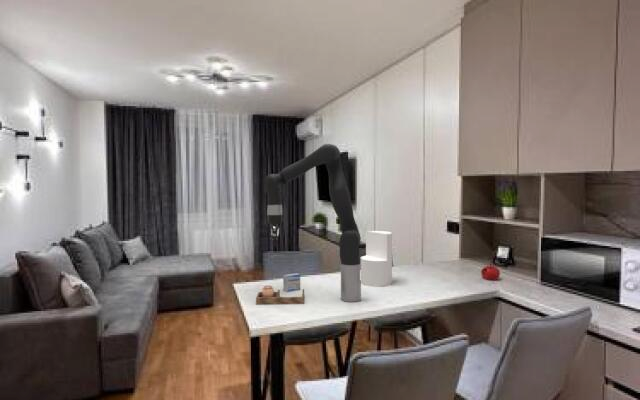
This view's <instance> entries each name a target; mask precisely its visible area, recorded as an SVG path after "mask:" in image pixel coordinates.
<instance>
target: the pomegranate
mask: <svg viewBox="0 0 640 400" xmlns="http://www.w3.org/2000/svg"><path fill="white" fill-rule="evenodd" d="M480 274H481V277H482V278H483V279H485V280H486V281H487V280H488V281H497V280H498V279H499V278H500V275H501V271H500V269H499V267H497V266H496V265H495V264H494V265H492V262H490V263H489V265H488V264H486V265H484V266H483V268H482V269H481V271H480Z"/></svg>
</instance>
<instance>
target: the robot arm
mask: <svg viewBox="0 0 640 400" xmlns="http://www.w3.org/2000/svg"><path fill="white" fill-rule="evenodd" d="M324 164H325V167H326V170H327V172H328V173H327V174H328V192H329V198H330V201H331V204H332V207H333V209H334V212H335V214H336V216H337V218H338V220H339V224H340V229H341V235H340V236H339V259H340V300H341V301H343V302H347V303H355V302H360V301H362V283H361V256H360V243H361V239H362V237H361V234H360V231H359V229H358V226H357V224H356V220H355V216H354V210H353V205H352V200H351V195H350V192H349V188H348V185H347V183H348V182H347V180H346V177H345V174H344V171H343V170H344V169H343V164H342V158H341V152H340V149H339V148H338V147H337V145H336V144H335V145H334V144H332V143H331V144H330V143H324V144H323V145H321V146H319V147H318V148H317V149H316V150H314V151H313V152H312V153H310V154H309V155H307V156H306V157H303V158H302V159H300V160H297V161H296V162H294V163H292V164H290V165H288V166H285V167H284V168H283V169H282V170H281V171H280V172H278V173H270V174H269V173H268V175H267V176H266V177H265V179H264V185H265V191H266V195H267V223H268V224H271V225H272V226H271V227H270V231H271V238H272V239H271V240H272V247H273V248H278V245H279V235H280V226H279V224H282V223H283V205H282V204H283V203H282V202H283V199H282V198H283V197H282V194H281V193H280V192H279V188H281V187H283V186H285V185H287V183H289V182H291V181H293V180H295V179H298V178H299V177H301V176H303V175H305V174H306V173H307V172H309V171H310V170H312V169H313V168H315V167H318V166H321V165H324Z"/></svg>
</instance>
